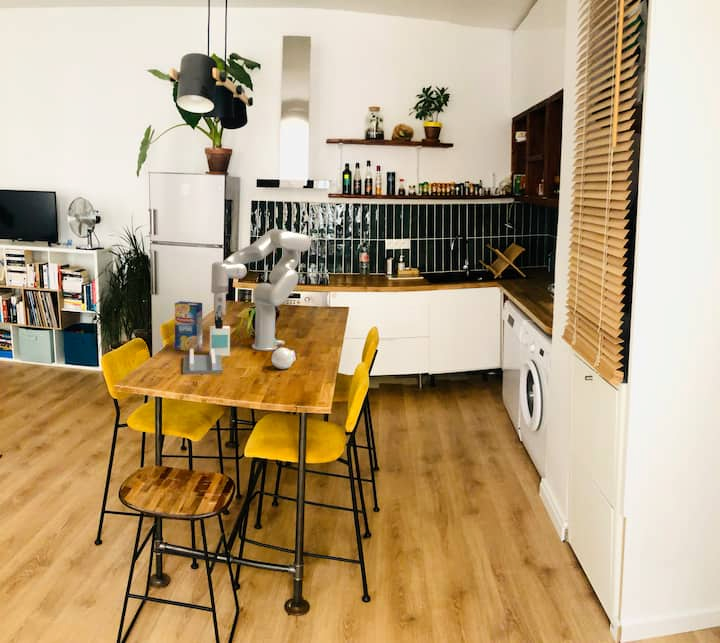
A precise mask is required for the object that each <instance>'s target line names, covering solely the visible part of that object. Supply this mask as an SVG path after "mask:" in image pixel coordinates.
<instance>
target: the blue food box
mask: <svg viewBox="0 0 720 643" xmlns="http://www.w3.org/2000/svg"><path fill="white" fill-rule="evenodd" d="M176 349H177V350H179V351H188V350H189V352H190V349H194V352H198V351H200V350H202V349H203V302H197V301H196V302H194V301H183V300H180V301H178V302H175V303H174V350H176Z"/></svg>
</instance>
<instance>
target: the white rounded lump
mask: <svg viewBox="0 0 720 643" xmlns="http://www.w3.org/2000/svg"><path fill="white" fill-rule="evenodd" d="M296 360H298V357H297V352H296V350H295V349H294V350H292V349H289V348H287V347H278V348H277V349H275V350H273V352H272V354H271V362H272V364H273V366H274V367H275V368H276V369H279V370H286V369H288V368H290V367H291V366H292V364H294V363H293V362H295V361H296Z"/></svg>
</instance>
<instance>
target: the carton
mask: <svg viewBox="0 0 720 643" xmlns="http://www.w3.org/2000/svg"><path fill="white" fill-rule="evenodd" d="M211 349H214V352H215V355H220V356H221V357H226V356H227V357H230V356H231V327H230V325H223V328H222V329H216V328H215V325H209V355H211Z"/></svg>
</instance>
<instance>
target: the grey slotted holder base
mask: <svg viewBox="0 0 720 643" xmlns="http://www.w3.org/2000/svg"><path fill="white" fill-rule="evenodd" d="M194 353H195V351H194V349H190V351H189V354H188V355H183V365H182V366H183V368H182V372H183V375H208V374H209V375H210V374H211V375H213V374H216V373H218V374H219V373H222V374H223V371H224V370H223V364H222V358H221V357H222V356H220V355H215V352H214V349H211V355H210V354H199V355H198V354H194Z"/></svg>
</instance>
